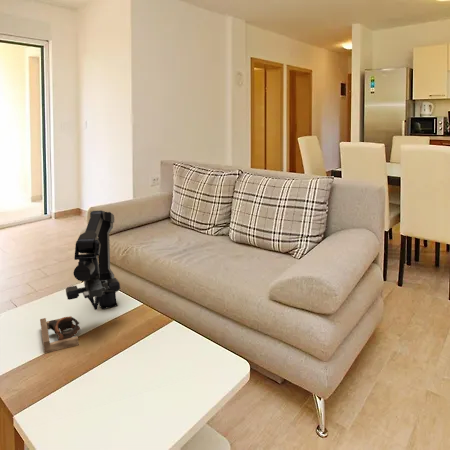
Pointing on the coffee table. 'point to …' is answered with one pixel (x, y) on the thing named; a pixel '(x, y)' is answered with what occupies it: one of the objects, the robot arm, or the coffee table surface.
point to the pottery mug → (64, 327)
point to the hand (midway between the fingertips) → (95, 309)
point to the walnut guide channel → (57, 344)
